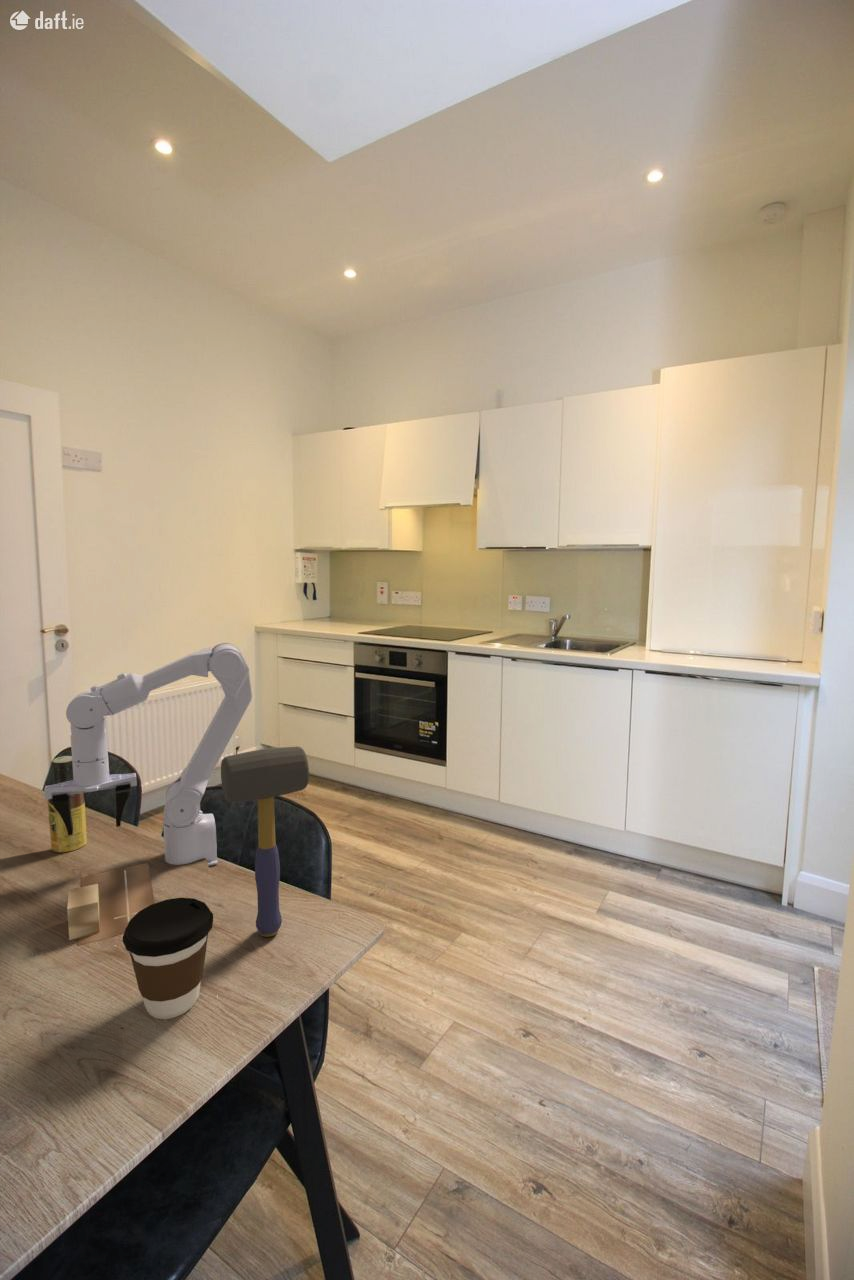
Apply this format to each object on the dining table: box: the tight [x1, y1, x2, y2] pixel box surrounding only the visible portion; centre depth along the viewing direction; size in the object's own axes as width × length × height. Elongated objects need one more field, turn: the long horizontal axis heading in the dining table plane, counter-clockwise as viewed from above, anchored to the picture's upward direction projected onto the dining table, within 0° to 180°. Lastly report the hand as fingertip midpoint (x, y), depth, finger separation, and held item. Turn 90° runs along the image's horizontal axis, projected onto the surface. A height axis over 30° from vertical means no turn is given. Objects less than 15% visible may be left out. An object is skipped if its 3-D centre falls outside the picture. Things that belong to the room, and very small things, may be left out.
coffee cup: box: [122, 897, 214, 1020], centre depth 77 cm, size 11×11×12 cm
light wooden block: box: [66, 884, 100, 941], centre depth 91 cm, size 4×6×6 cm, turn 29°
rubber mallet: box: [220, 746, 310, 938], centre depth 91 cm, size 12×8×30 cm, turn 119°
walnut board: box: [76, 862, 156, 947], centre depth 99 cm, size 11×22×2 cm, turn 29°
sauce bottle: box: [47, 755, 88, 853], centre depth 117 cm, size 6×6×20 cm
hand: (94, 828), depth 108 cm, fingers open, 7 cm apart
